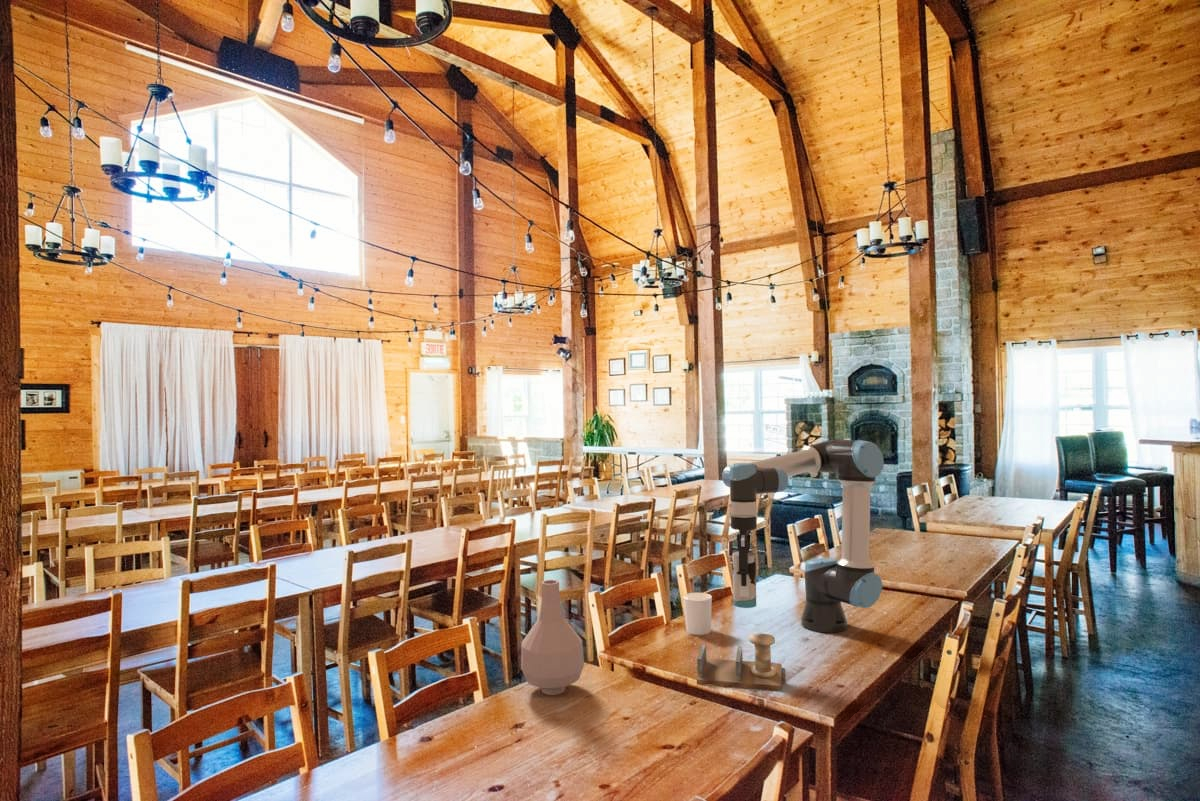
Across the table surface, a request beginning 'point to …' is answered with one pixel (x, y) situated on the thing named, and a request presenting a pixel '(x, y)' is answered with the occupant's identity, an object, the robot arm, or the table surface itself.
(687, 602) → the candle holder
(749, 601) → the cup
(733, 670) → the winding board
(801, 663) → the table surface
